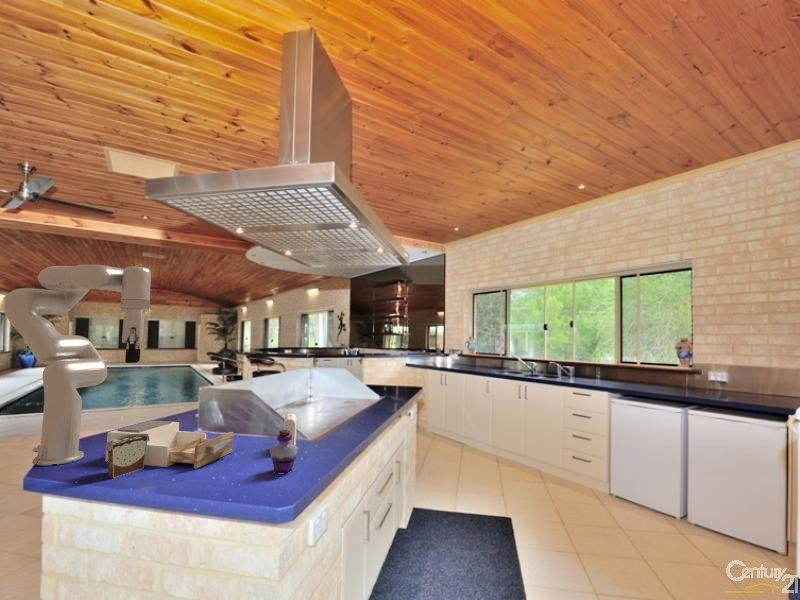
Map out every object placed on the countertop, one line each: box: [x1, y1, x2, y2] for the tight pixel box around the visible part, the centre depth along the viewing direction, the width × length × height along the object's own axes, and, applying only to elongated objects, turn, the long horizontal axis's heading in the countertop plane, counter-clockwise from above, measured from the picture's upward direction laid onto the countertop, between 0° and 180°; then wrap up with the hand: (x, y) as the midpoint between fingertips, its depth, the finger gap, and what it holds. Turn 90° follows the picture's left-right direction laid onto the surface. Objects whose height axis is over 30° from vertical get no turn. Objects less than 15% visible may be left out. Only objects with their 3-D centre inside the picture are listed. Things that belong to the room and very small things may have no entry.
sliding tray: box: [169, 431, 234, 469], centre depth 134 cm, size 14×18×7 cm
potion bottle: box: [269, 429, 299, 473], centre depth 124 cm, size 9×9×12 cm
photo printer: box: [283, 413, 298, 446], centre depth 148 cm, size 10×4×12 cm, turn 11°
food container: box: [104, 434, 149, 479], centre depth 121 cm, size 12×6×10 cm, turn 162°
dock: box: [105, 420, 207, 468], centre depth 137 cm, size 22×18×10 cm
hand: (132, 362), depth 126 cm, fingers open, 9 cm apart
